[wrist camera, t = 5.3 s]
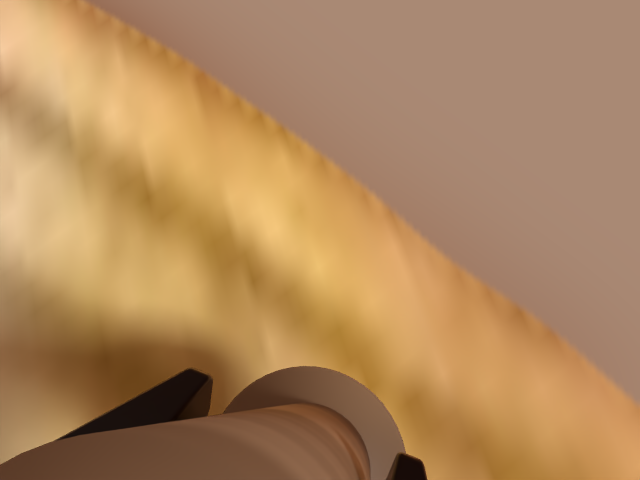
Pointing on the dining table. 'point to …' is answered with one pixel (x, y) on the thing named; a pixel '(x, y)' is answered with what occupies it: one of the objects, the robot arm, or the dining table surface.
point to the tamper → (239, 439)
